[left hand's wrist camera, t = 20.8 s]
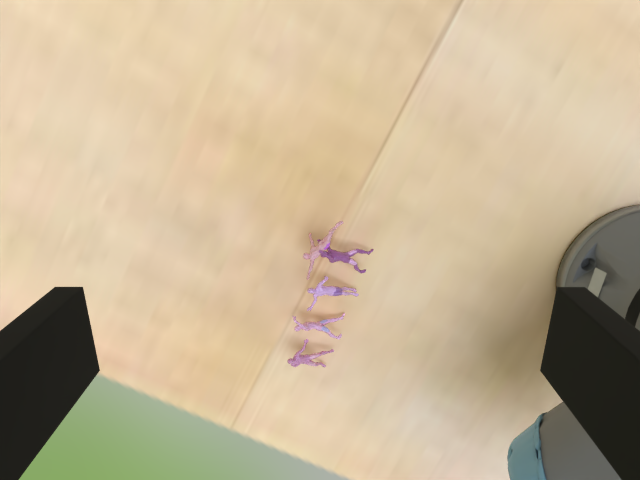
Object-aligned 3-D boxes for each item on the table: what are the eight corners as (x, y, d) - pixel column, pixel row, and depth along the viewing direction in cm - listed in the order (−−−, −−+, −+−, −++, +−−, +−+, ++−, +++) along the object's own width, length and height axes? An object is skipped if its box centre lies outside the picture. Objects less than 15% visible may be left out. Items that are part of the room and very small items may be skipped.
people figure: (333, 385, 49) (269, 381, 45) (316, 350, 53) (256, 345, 50) (403, 239, 43) (335, 222, 39) (376, 215, 48) (313, 198, 44)
